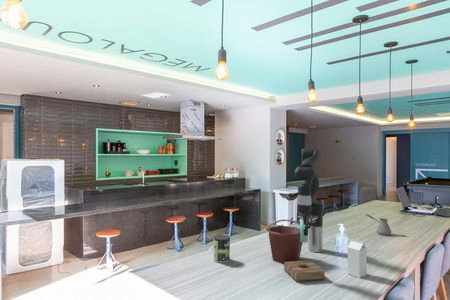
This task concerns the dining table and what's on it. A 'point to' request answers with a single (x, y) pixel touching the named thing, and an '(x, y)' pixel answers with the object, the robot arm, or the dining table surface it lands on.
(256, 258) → the dining table surface
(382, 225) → the coffee pot
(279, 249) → the bucket
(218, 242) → the coffee can
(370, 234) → the dining table surface
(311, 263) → the bore block
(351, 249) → the milk carton
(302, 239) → the dowel
